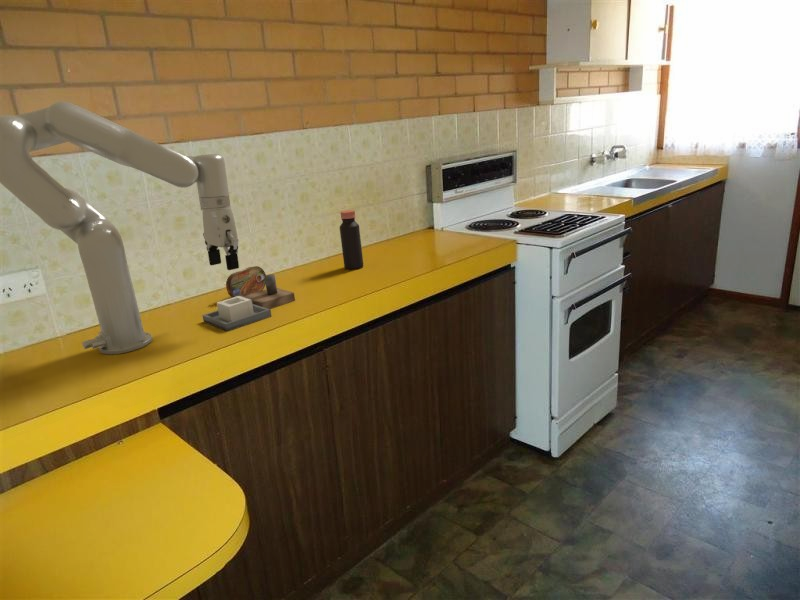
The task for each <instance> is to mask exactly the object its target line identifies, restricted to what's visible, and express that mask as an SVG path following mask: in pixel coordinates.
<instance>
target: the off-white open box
mask: <svg viewBox="0 0 800 600" xmlns="http://www.w3.org/2000/svg"><path fill="white" fill-rule="evenodd" d="M216 308H217V310H218V312H219V317H220V318H221V319H224V320H227V321H229V322H232V321H235V320H238V319H241V318H244V317H247V316H250V315H253V314H254V311H253V305H252V300H251V299H247V298H244V297H241V296H236V297H233V298H232V297H231V298H227V299H224V300H221V301H218V302H216Z"/></svg>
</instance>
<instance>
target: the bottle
mask: <svg viewBox="0 0 800 600" xmlns="http://www.w3.org/2000/svg"><path fill="white" fill-rule="evenodd" d="M339 214H340V219H341V221H342V223H341V224H340V226H339V234H340V242H341V249H342V258H343V267H344V269H345V270H348V271H349V270H350V271H351V270H359V269H362V268H363V267H364V256H363V249H362V241H361V240H362V239H361V231H360V225H359V223H358V222H357V221H356V213H355V210H353V209H351V210H350V209H349V210H342V211H340V212H339Z"/></svg>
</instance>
